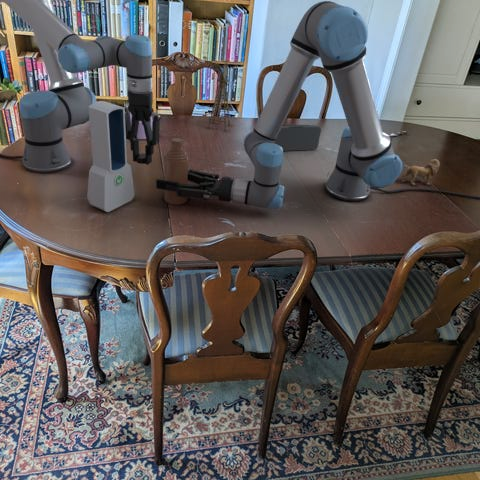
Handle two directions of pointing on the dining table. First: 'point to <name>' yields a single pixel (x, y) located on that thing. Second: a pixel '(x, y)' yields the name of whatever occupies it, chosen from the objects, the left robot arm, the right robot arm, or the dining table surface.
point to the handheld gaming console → (298, 137)
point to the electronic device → (109, 158)
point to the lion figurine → (422, 171)
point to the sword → (395, 134)
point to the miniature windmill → (222, 80)
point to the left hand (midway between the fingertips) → (142, 161)
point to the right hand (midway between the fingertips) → (160, 178)
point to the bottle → (175, 170)
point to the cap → (141, 158)
